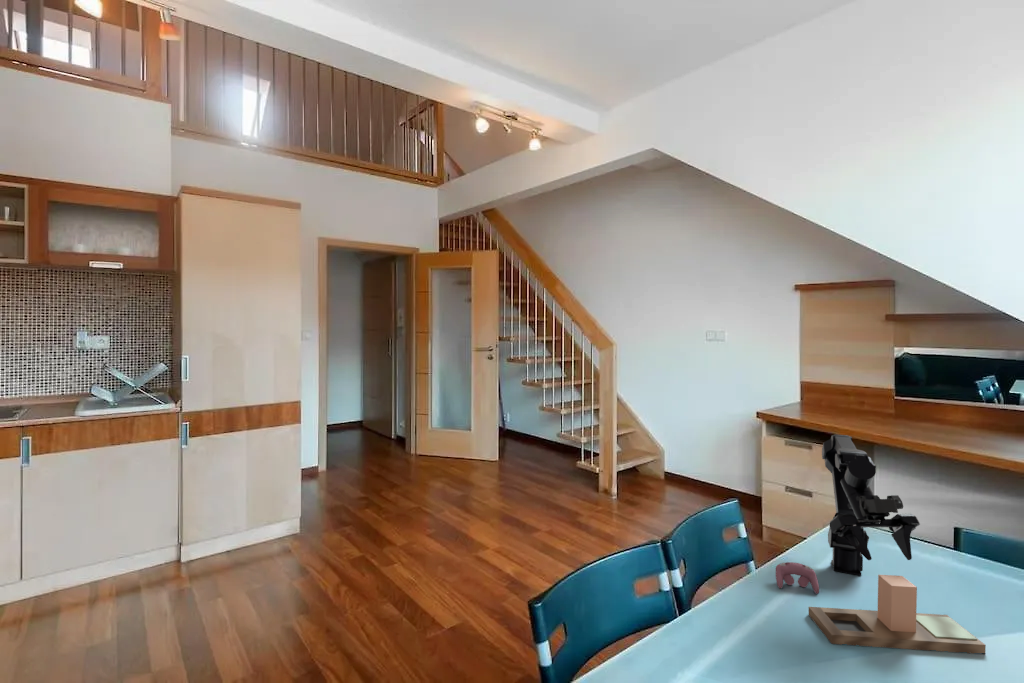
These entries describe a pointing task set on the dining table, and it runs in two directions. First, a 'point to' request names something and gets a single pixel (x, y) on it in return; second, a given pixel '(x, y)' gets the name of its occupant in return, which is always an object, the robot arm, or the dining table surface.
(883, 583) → the block
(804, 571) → the video game controller
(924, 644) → the board
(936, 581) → the dining table surface
